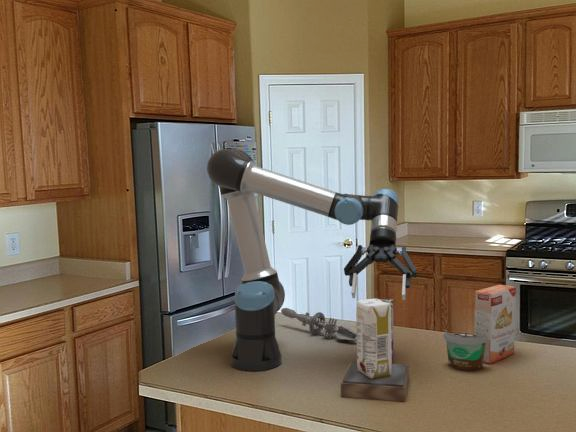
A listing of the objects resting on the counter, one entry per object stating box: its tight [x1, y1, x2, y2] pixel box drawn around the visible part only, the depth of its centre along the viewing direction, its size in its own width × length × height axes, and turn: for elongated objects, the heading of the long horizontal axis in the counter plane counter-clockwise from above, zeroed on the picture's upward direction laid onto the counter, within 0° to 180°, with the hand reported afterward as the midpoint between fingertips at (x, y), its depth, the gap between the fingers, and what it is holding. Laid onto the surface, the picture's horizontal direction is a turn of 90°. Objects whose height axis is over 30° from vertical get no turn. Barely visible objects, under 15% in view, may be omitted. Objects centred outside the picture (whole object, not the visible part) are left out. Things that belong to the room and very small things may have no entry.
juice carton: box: [356, 298, 393, 379], centre depth 158 cm, size 8×9×19 cm
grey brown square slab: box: [340, 361, 410, 402], centre depth 160 cm, size 16×16×4 cm
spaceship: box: [280, 307, 357, 342], centre depth 209 cm, size 8×35×8 cm
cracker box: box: [473, 284, 517, 365], centre depth 181 cm, size 14×6×21 cm, turn 131°
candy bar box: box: [378, 298, 395, 362], centre depth 184 cm, size 11×5×16 cm, turn 168°
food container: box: [443, 329, 488, 372], centre depth 172 cm, size 12×6×10 cm, turn 70°
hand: (378, 296), depth 165 cm, fingers open, 13 cm apart
